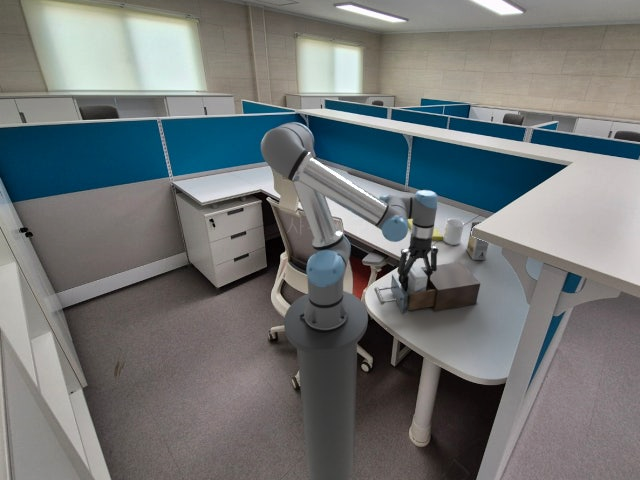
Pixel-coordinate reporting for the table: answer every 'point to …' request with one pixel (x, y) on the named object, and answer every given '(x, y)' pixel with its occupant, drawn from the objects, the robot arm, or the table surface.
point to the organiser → (453, 286)
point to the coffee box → (476, 246)
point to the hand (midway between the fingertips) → (414, 287)
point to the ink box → (416, 280)
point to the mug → (453, 231)
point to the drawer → (414, 299)
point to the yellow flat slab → (435, 233)
